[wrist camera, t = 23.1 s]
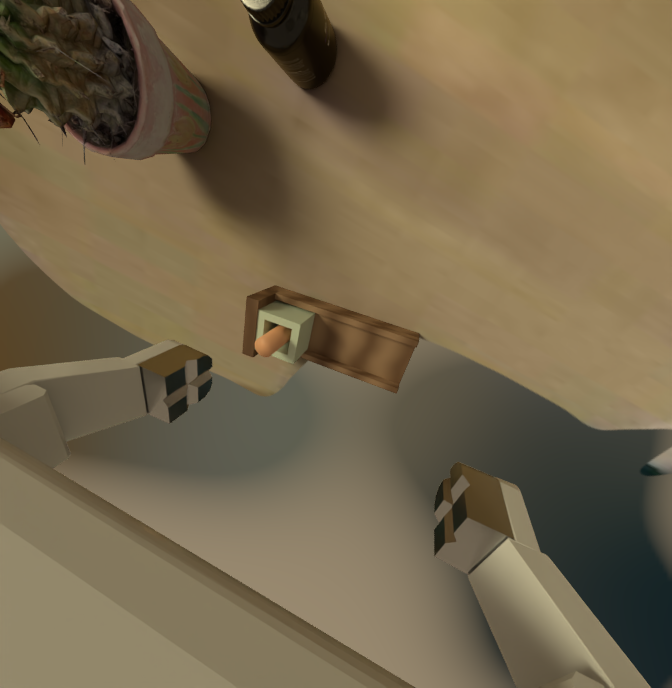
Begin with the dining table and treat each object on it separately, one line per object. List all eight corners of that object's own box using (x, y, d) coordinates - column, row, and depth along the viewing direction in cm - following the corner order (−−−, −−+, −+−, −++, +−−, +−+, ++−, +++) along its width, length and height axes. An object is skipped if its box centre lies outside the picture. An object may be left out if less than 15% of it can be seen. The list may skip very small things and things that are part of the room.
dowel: (304, 320, 45) (274, 342, 36) (301, 335, 47) (271, 360, 38) (288, 314, 46) (255, 334, 37) (286, 329, 47) (253, 352, 38)
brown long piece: (419, 333, 42) (418, 356, 35) (398, 382, 47) (393, 412, 39) (275, 285, 46) (246, 296, 39) (268, 334, 51) (242, 353, 44)
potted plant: (169, -28, 33) (-307, -501, 12) (258, 125, 37) (25, -16, 16) (109, 89, 42) (-238, -61, 20) (188, 205, 45) (-31, 186, 24)
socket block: (315, 312, 44) (300, 324, 38) (307, 348, 47) (293, 364, 42) (277, 300, 45) (258, 309, 40) (272, 335, 48) (254, 349, 43)
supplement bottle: (349, 41, 31) (311, -54, 21) (317, 104, 34) (270, 50, 24) (305, -1, 31) (244, -118, 20) (277, 67, 34) (212, -4, 24)
